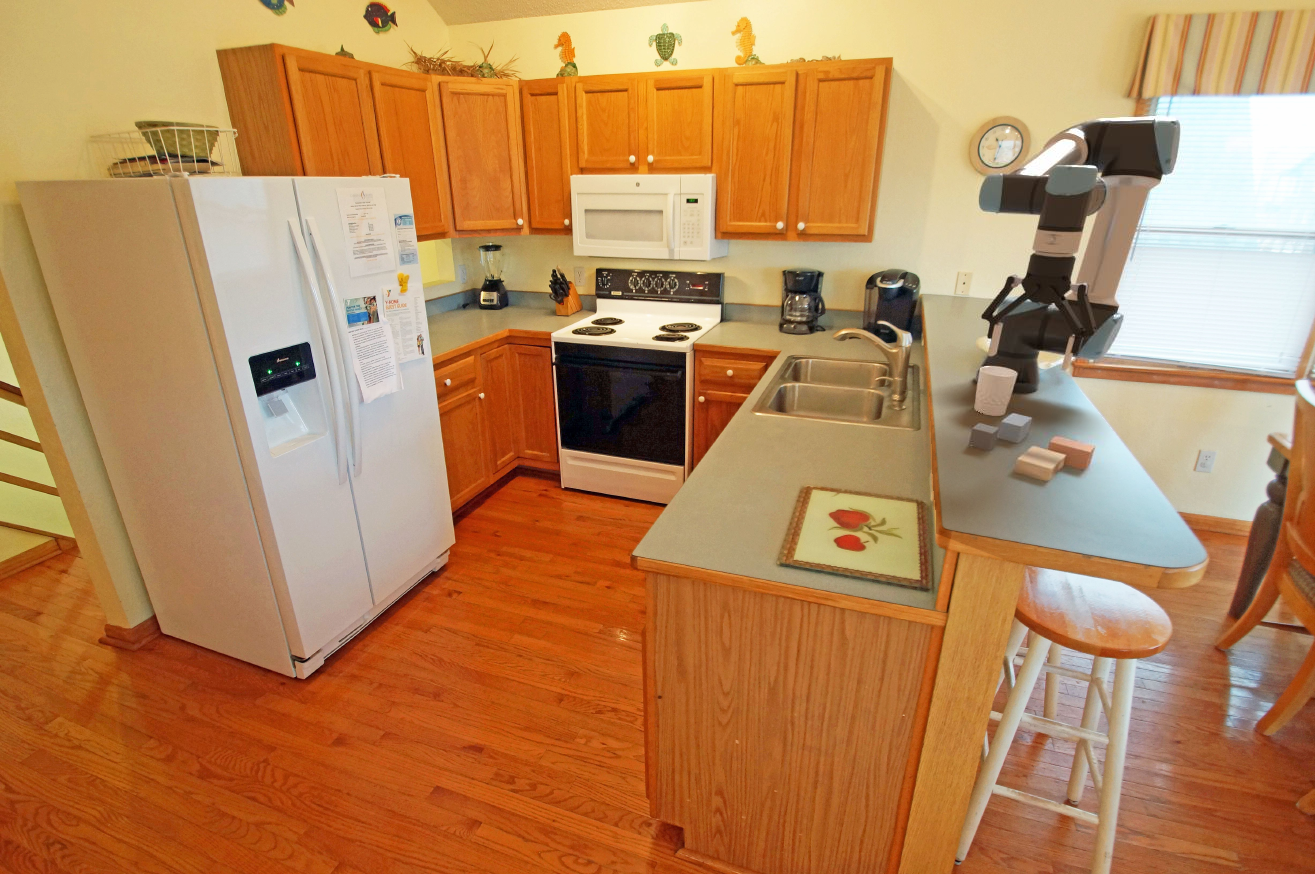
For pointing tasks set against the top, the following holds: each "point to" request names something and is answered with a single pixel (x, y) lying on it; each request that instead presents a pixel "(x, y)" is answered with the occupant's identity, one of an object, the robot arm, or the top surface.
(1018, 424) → the blue block
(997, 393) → the white cup
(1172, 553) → the top surface
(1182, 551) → the top surface
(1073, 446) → the terracotta block
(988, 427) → the charcoal block
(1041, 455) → the maple block
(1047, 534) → the top surface
